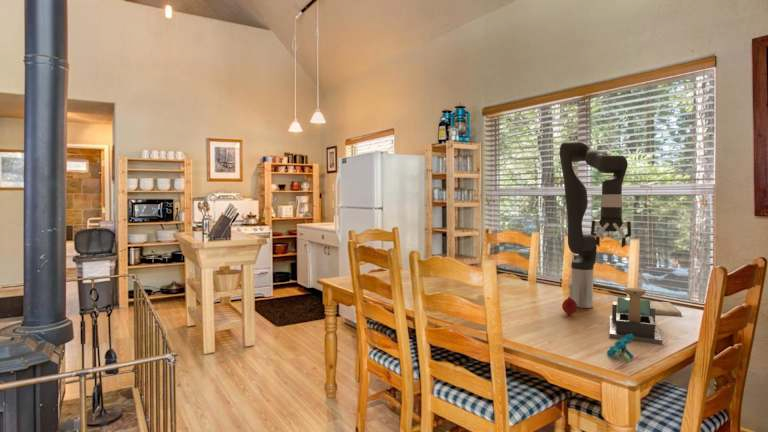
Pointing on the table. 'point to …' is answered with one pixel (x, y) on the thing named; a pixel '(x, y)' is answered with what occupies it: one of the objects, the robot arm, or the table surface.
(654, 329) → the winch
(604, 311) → the table surface
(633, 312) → the handle
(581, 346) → the table surface
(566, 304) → the onion
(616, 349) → the teal lobed piece
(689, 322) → the table surface
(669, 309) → the washcloth
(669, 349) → the table surface
